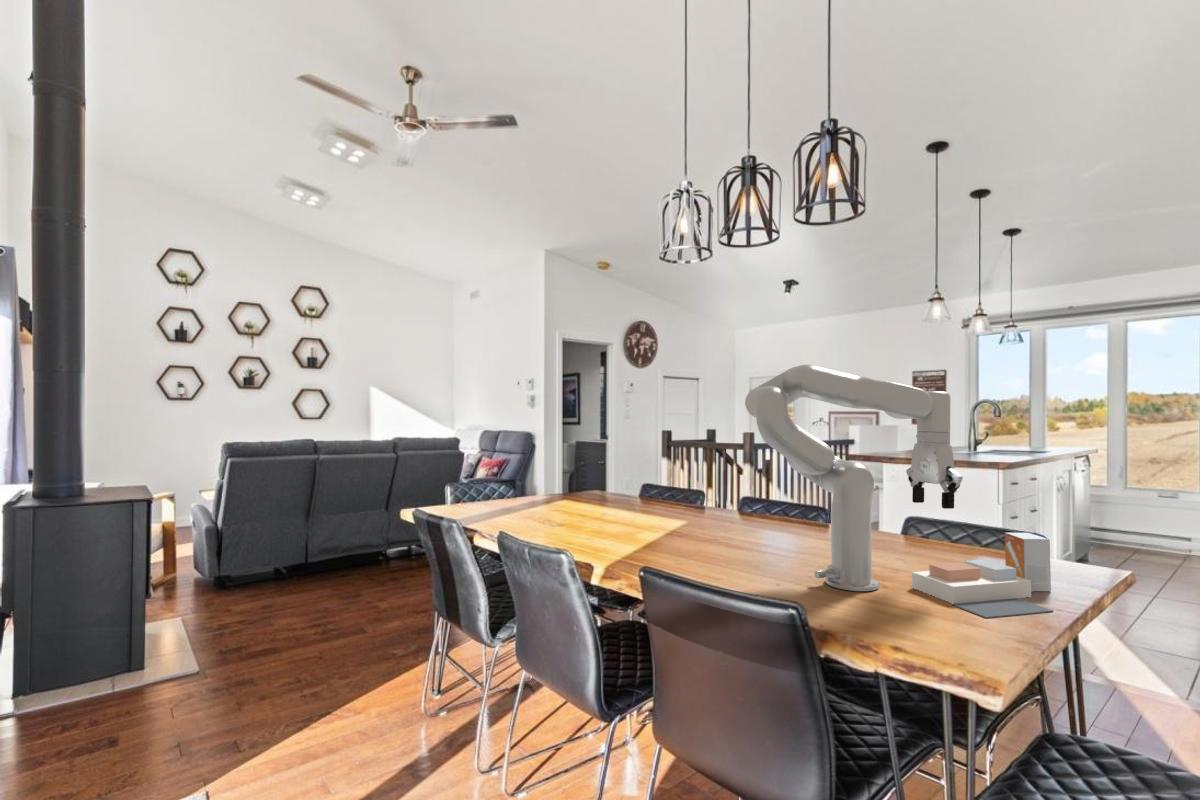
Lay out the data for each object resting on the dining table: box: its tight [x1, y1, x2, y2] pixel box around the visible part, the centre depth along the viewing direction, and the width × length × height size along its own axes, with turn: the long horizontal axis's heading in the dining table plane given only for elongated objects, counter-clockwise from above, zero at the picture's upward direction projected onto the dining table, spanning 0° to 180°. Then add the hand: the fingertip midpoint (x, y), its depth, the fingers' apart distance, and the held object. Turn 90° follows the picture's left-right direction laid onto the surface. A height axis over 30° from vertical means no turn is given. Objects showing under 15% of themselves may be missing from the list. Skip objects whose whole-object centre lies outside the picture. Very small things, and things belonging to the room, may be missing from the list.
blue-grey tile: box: [964, 558, 1016, 580], centre depth 146 cm, size 9×6×2 cm, turn 13°
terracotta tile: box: [928, 562, 980, 581], centre depth 144 cm, size 9×6×2 cm, turn 103°
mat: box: [951, 598, 1054, 619], centre depth 133 cm, size 18×9×1 cm, turn 103°
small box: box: [1004, 532, 1052, 593], centre depth 149 cm, size 8×6×13 cm
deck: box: [911, 570, 1032, 604], centre depth 145 cm, size 22×13×4 cm, turn 103°
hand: (932, 505), depth 152 cm, fingers open, 9 cm apart
